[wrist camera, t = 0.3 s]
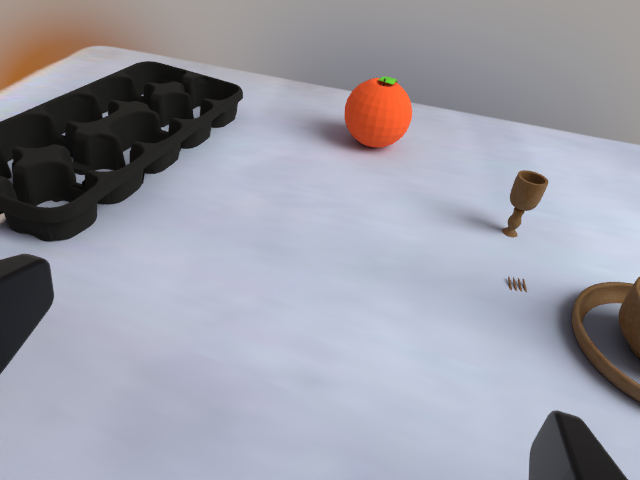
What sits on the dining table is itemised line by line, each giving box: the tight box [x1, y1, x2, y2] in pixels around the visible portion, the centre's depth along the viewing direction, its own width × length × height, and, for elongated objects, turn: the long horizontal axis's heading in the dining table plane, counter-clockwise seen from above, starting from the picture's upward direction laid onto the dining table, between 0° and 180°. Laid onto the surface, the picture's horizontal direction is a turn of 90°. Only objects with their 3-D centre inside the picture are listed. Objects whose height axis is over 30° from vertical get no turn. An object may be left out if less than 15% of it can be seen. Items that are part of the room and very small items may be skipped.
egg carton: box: [0, 61, 243, 241], centre depth 47 cm, size 18×30×4 cm, turn 173°
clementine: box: [345, 77, 412, 148], centre depth 54 cm, size 8×7×7 cm
